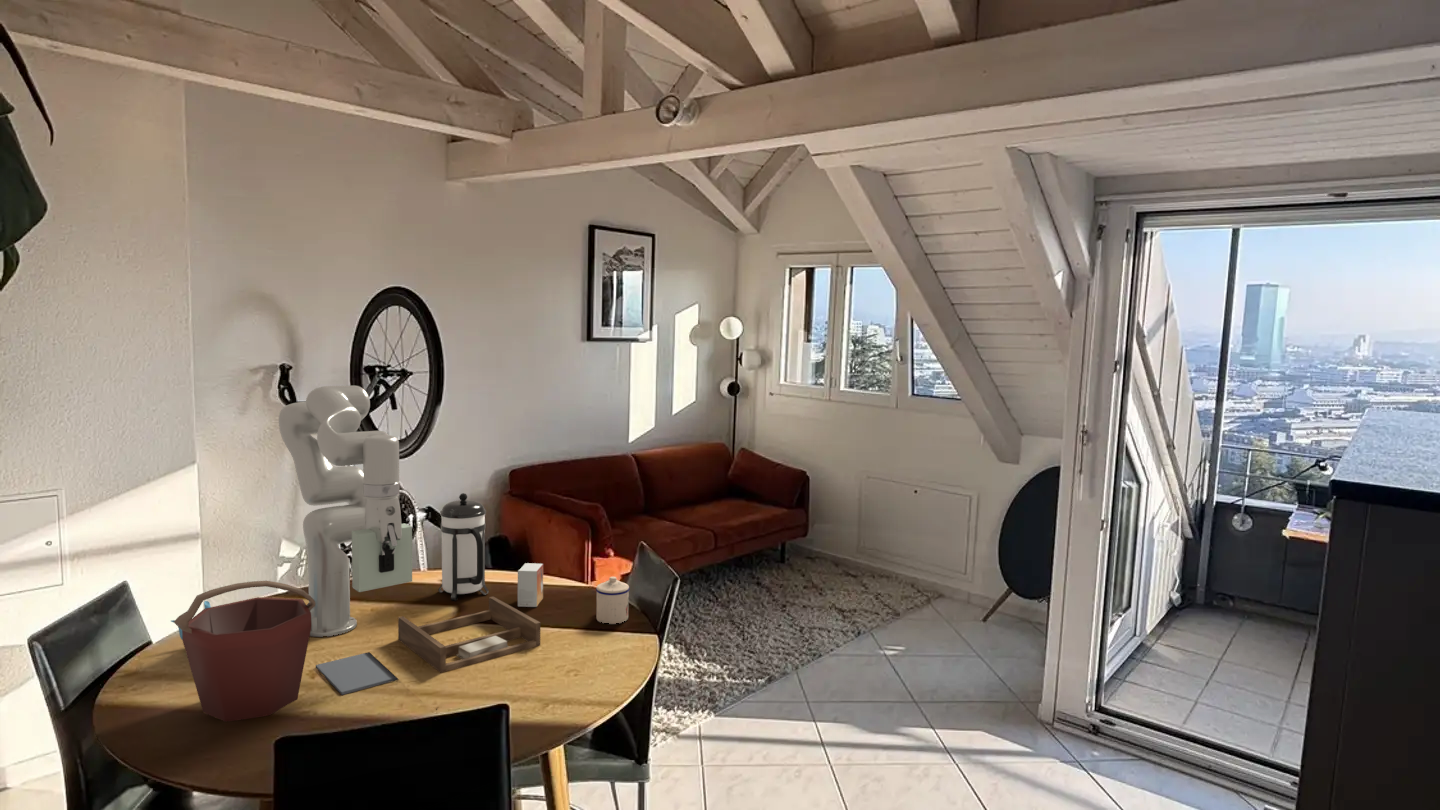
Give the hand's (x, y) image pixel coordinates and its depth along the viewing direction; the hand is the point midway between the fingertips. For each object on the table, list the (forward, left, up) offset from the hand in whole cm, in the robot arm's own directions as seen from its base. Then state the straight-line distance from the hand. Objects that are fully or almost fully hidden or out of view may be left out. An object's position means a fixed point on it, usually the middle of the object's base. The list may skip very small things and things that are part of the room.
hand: (382, 568), depth 183 cm
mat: (-3, 0, -23) cm, 23 cm away
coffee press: (+37, +36, -23) cm, 56 cm away
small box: (+48, +18, -23) cm, 56 cm away
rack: (+20, -2, -23) cm, 31 cm away
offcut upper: (+20, -10, -22) cm, 31 cm away
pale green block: (0, 0, -4) cm, 4 cm away
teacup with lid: (+59, -6, -23) cm, 64 cm away
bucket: (-27, 0, -23) cm, 36 cm away
